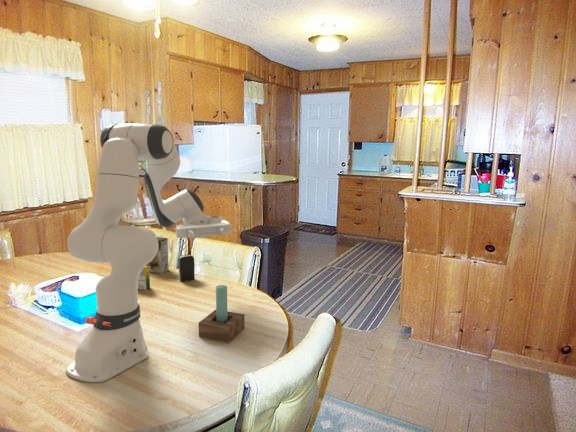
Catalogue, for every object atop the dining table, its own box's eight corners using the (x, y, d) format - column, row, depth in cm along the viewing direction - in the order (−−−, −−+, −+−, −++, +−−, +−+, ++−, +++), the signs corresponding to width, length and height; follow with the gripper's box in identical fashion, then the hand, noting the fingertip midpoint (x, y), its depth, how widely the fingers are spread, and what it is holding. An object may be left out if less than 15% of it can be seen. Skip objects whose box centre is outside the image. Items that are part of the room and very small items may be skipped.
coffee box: (145, 271, 191) (143, 239, 188) (153, 267, 197) (151, 235, 194) (161, 273, 188) (159, 240, 185) (169, 269, 194) (167, 237, 191)
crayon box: (150, 287, 171) (149, 261, 169) (146, 290, 168) (144, 263, 166) (135, 285, 173) (134, 260, 171) (131, 288, 170) (129, 262, 168)
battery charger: (192, 276, 185) (191, 253, 182) (195, 279, 181) (194, 255, 179) (177, 279, 181) (176, 255, 179) (180, 282, 178) (179, 257, 176)
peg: (224, 335, 131) (223, 289, 127) (214, 333, 132) (213, 288, 129) (229, 330, 134) (229, 285, 131) (220, 329, 135) (219, 284, 132)
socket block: (228, 343, 126) (228, 328, 125) (199, 336, 130) (198, 322, 129) (244, 328, 136) (244, 314, 135) (216, 322, 140) (216, 309, 139)
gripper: (171, 220, 149) (178, 228, 136) (225, 216, 157) (235, 223, 145) (172, 236, 150) (178, 245, 138) (225, 231, 158) (235, 240, 146)
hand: (208, 234), depth 141 cm, fingers open, 8 cm apart
